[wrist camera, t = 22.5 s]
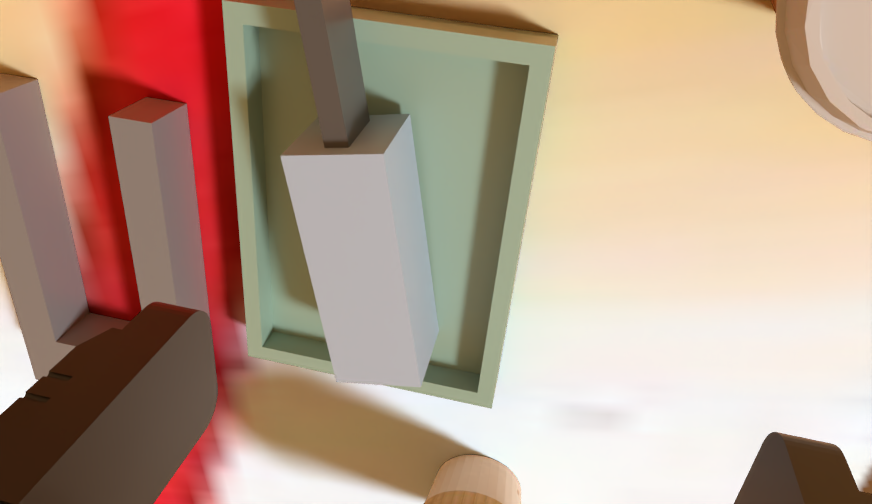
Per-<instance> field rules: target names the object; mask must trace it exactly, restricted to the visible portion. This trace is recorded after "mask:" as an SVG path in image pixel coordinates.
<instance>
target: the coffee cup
mask: <svg viewBox="0 0 872 504" xmlns="http://www.w3.org/2000/svg"><path fill="white" fill-rule="evenodd" d="M424 504H521V487H520V483H519V481H518V479H517V477H516V476H515V475H514V473H513V472H512V471H511V470H510V469H509V468H507V467H506V466H505V465H503V464H502V463H500V462H498V461H496V460H494V459H491V458H488V457H484V456H479V455H462V456H457V457H454V458H451V459H450V460H448V461H446V462H445V463H444V464H443V465H442V466H441V467H440V469H439V471H438V473H437V475H436V478H435V480H434V482H433V485H432V487H431V489H430V492H429V494H428V497H427V499H426V501H425V503H424Z"/></svg>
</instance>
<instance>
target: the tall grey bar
mask: <svg viewBox="0 0 872 504" xmlns="http://www.w3.org/2000/svg"><path fill="white" fill-rule="evenodd" d="M294 4H295V9H296V14H297V19H298V23H299V28H300V33H301V38H302V42H303V47H304V52H305V57H306V62H307V66H308V71H309V76H310V81H311V86H312V90H313V95H314V100H315V105H316V109H317V114H318V117H317V118H316V119H315V120H314V121H313V122H312V123H311V125H310V126H309V127H308V128H307V129H306V130H305V131H304V132H303V133H302V134H301V135H300V136H299V137H298V138H297V139H296V140H295V141H294V142H293V143H292V144H291V145H290V146H289V147H288V148H287V149H286V150H285V151H284V152H283V153H282V155H281V156H280V157H281V161H282V165H283V169H284V173H285V177H286V181H287V185H288V189H289V193H290V197H291V201H292V205H293V209H294V213H295V217H296V221H297V225H298V229H299V233H300V237H301V241H302V245H303V249H304V254H305V258H306V262H307V266H308V270H309V274H310V278H311V282H312V286H313V290H314V294H315V298H316V302H317V306H318V310H319V314H320V318H321V322H322V326H323V330H324V334H325V338H326V342H327V346H328V350H329V354H330V358H331V362H332V366H333V370H334V375H335V379H336V382H347V383H362V384H377V385H392V386H407V387H421V386H422V382H423V379H424V376H425V373H426V370H427V367H428V364H429V361H430V357H431V354H432V351H433V348H434V345H435V342H436V339H437V335H438V332H439V327H438V320H437V312H436V305H435V297H434V290H433V282H432V275H431V267H430V260H429V252H428V245H427V237H426V230H425V222H424V215H423V207H422V200H421V192H420V185H419V177H418V170H417V162H416V155H415V147H414V140H413V132H412V125H411V117H410V114H387V115H369V112H368V106H367V100H366V94H365V88H364V82H363V76H362V70H361V64H360V58H359V52H358V46H357V40H356V34H355V28H354V22H353V16H352V10H351V4H350V0H294Z"/></svg>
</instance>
